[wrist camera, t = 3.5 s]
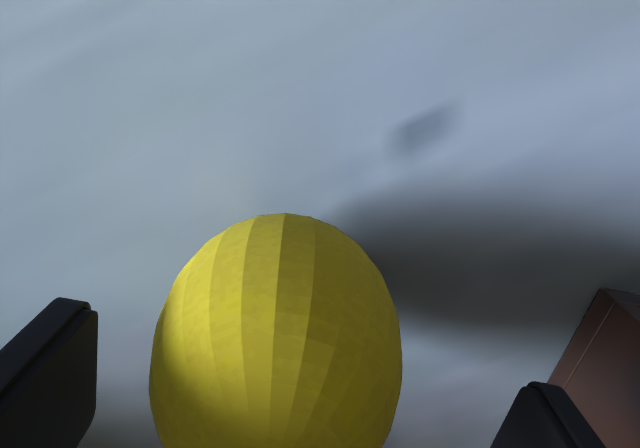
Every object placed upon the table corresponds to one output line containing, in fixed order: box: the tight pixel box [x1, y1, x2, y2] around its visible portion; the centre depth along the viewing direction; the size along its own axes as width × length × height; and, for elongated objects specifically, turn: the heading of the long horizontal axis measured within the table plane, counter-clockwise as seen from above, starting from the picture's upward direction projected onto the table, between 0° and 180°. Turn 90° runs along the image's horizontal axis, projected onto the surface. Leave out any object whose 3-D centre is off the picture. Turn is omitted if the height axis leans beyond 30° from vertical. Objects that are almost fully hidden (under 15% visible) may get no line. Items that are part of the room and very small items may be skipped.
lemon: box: [149, 213, 402, 448], centre depth 10 cm, size 6×6×8 cm
